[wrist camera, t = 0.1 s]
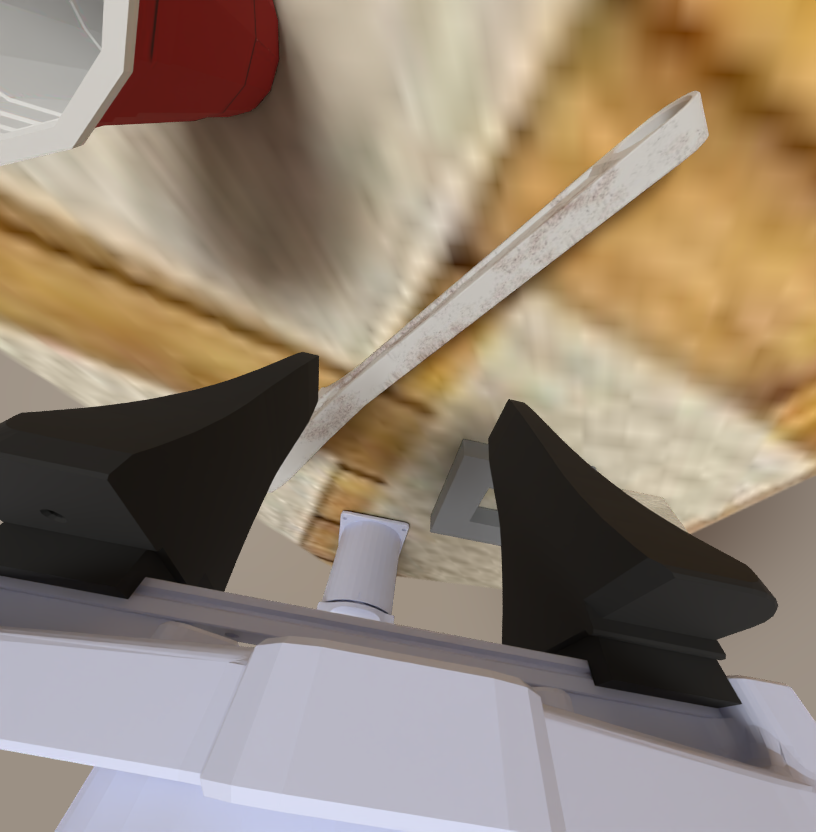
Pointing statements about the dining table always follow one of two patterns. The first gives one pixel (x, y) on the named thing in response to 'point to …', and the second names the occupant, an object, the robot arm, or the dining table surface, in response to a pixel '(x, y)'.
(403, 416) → the dining table surface
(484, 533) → the socket block
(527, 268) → the wrench
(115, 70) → the plastic cup
